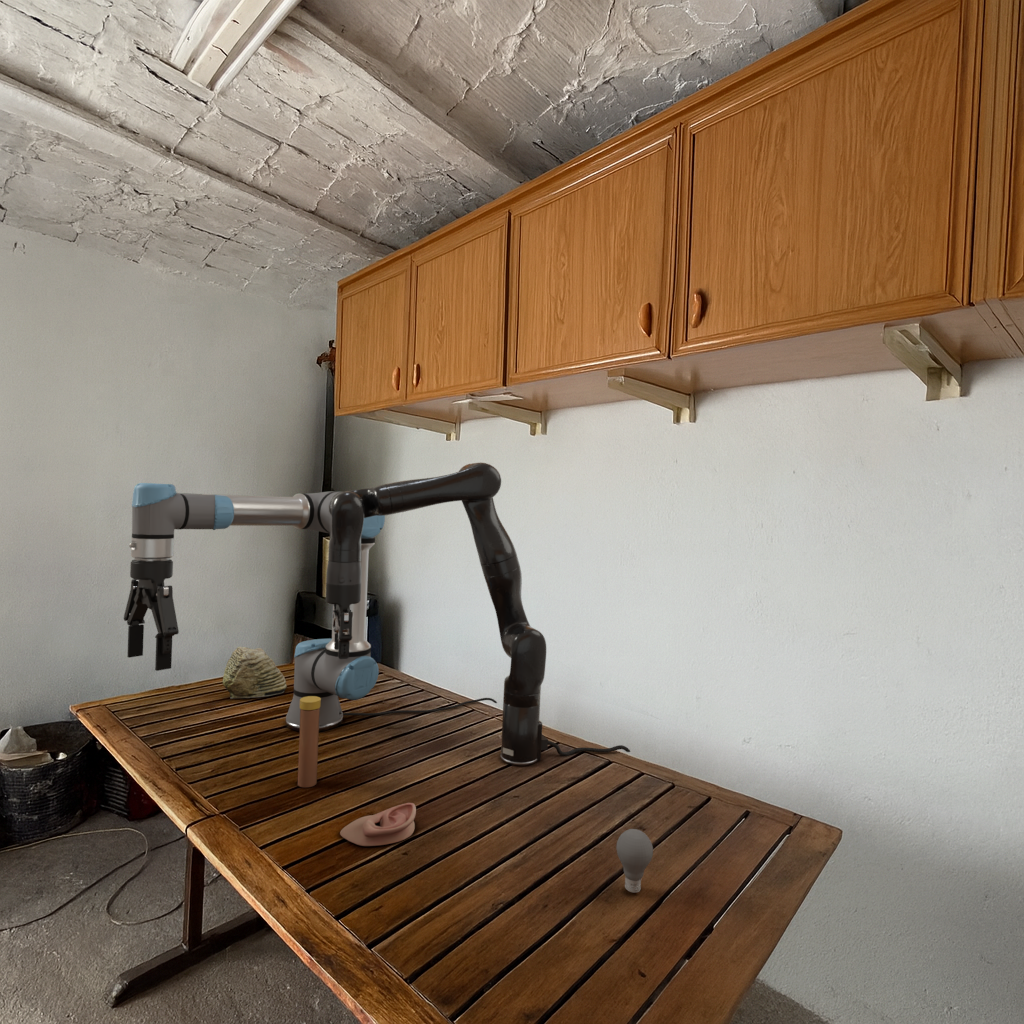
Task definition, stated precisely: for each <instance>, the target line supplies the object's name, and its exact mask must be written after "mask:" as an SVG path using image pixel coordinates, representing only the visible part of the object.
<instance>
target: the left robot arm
mask: <svg viewBox="0 0 1024 1024" xmlns="http://www.w3.org/2000/svg"><path fill="white" fill-rule="evenodd" d="M339 492H340V491H337V490H336V491H335V490H333V491H332V490H330V491H321V492H311V493H295V494H294V495H293V496H276V495H275V496H274V495H273V496H272V495H248V494H247V495H246V494H244V495H243V494H220V493H219V494H218V493H217V494H216V493H215V494H214V493H189V492H187V493H186V492H177V491H176V486H175V485H174V484H173V483H152V482H139V483H137V484H136V485H135V486H134V488H133V492H132V501H131V520H132V521H131V542H130V543H128V547H129V548H130V549H131V550H130V556H131V558H133V559H132V560H131V561H130V567H129V568H130V571H129V574H130V575H129V576H130V578H131V581H130V590H129V594H128V598H127V603H126V607H125V610H124V615H123V621H124V622H126V624H127V626H128V629H127V630H128V631H127V658H135V657H142V656H144V635H145V634H144V630H145V625H144V624H145V623H146V621H145V619H144V618H145V616H146V615H147V612H148V609H149V610H151V613H152V618H153V620H154V624H155V627H156V631H157V633H156V635H155V636H154V638H155V661H154V663H155V665H154V668H155V669H154V670H155V671H157V672H159V671H164V670H169V669H172V659H173V657H172V655H173V637H175V636H176V635H179V632H180V631H179V625H178V619H177V615H176V614H177V613H176V609H175V603H174V597H173V595H174V593H173V585H165V580H167V579H171V578H172V577H173V575H174V573H173V572H174V561H173V560H172V559H171V558H173V557H174V554H175V553H174V552H175V530H213V531H215V530H224V529H228V528H230V526H233V527H234V526H237V527H238V526H240V527H243V526H246V527H247V526H249V527H250V526H258V527H259V526H268V527H269V526H276V527H277V526H282V527H284V526H285V527H286V526H287V527H288V526H289V527H290V526H291V527H293V528H294V529H296V530H308V531H309V530H310V531H316V532H319V533H325V534H329V538H330V537H331V535H332V516H331V514H330V512H329V502H330V500H331V498H332V497H333V496H334V495H335V494H337V493H339ZM385 520H386V515H384V516H371V517H367V518H364V523H363V530H362V535H361V600H360V602H359V603H356V604H351V605H350V610H351V612H353V618H352V640H350V641H349V658H347V659H339V657H338V650H335V648H334V638H335V633H336V632H334V631H333V629H334V628H333V623H332V625H331V626H332V627H331V638H317V639H308V640H304V641H300V642H299V643H297V645H296V646H295V650H294V655H293V657H294V672H293V673H294V674H293V695H292V696H293V697H292V699H291V702H290V704H289V708H288V711H287V713H286V715H285V726H286V728H287V729H289V730H291V731H294V732H295V731H296V732H300V699H301V698H303V697H307V696H317V697H320V698H321V706H320V711H319V732H325V731H329V730H332V729H335V728H337V727H339V726H340V725H342V723H343V722H344V716H345V717H347V716H349V717H350V716H355V717H356V716H361V717H372V716H373V717H375V716H383V715H390V714H391V715H392V714H425V713H435V712H441V711H447V710H451V709H452V710H453V709H455V708H458V707H459V708H460V707H461V706H465V705H468V704H474V703H478V702H483V701H490V702H493V703H494V704H498V702H497V700H495V699H494V698H492V697H482V698H478V699H473V700H467V701H462V702H461V703H460V702H459V703H457V704H454V705H450V706H449V705H448V706H445V707H440V708H433V709H424V710H423V709H421V710H419V709H416V710H414V709H413V710H412V709H402V710H401V709H400V710H399V709H398V710H389V711H381V712H343V709H342V706H341V702H340V699H339V698H341V699H342V700H343V699H344V700H348V701H349V700H350V701H357V700H360V699H362V698H364V697H365V696H367V695H368V694H370V692H371V690H372V689H374V687H375V685H376V683H377V682H378V678H379V674H380V672H379V671H380V670H379V669H380V668H379V665H378V663H377V662H376V660H375V659H374V657H371V652H372V649H371V648H372V644H371V643H370V642H368V640H367V639H366V631H367V607H368V606H367V605H368V604H367V602H368V582H369V581H368V579H369V555H370V553H369V552H370V550H371V548H372V547H374V545H375V544H376V536H378V535H379V534H380V533H381V530H383V528H384V526H385V522H386V521H385ZM333 610H334V604H332V611H333ZM343 633H345V635H347V632H343Z"/></svg>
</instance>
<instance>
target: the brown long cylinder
mask: <svg viewBox="0 0 1024 1024" xmlns="http://www.w3.org/2000/svg"><path fill="white" fill-rule="evenodd" d="M319 711H320V708H318V709H315V710H302V709H300V731H299V732H298V733H299V735H298V736H299V737H298V739H299V740H298V761H297V762H298V763H297V766H298V767H297V786H298V787H300V788H304V789H305V788H311V787H314V786H315V785H317V783H318V762H319V760H318V758H319V736H320V731H319Z"/></svg>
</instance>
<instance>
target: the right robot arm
mask: <svg viewBox="0 0 1024 1024" xmlns="http://www.w3.org/2000/svg"><path fill="white" fill-rule="evenodd" d="M501 488H502V477H501V474H500V472H499V471H498V469H497V468H496V467H495V466H493V465H491V464H490V463H487V462H473V463H468V464H466V465H463V466H462V467H461V468H460V469H459V470H458V471H457V472H453V473H450V474H445V475H440V476H433V477H427V478H416V479H415V478H414V479H408V480H407V479H406V480H401V481H395V482H389V483H383V484H379V485H377V486H373V487H368V488H360V489H359V488H357V489H352V490H344V491H338V492H339V493H337V494H335V495H334V496H333V497H332V498H331V500H330V502H329V512H330V514H331V516H332V535H331V537H330V536H329V542H328V554H327V555H328V558H327V566H326V580H325V602H326V603H327V604H330V605H333V604H334V610H333V609H332V624H333V628H334V629H333V631H334V632H336V633H335V638H334V648H335V650H338V657H339V659H347V658H349V641H350V640H352V618H353V612H351V610H350V605H351V604H356V603H359V602H360V600H361V535H362V530H363V523H364V518H367V517H371V516H384V515H385V516H390V515H391V516H392V515H395V514H400V513H404V512H409V511H414V510H418V509H423V508H426V507H431V506H435V505H439V504H445V503H451V502H460V501H461V503H462V505H463V508H464V511H465V514H466V515H467V518H468V521H469V524H470V527H471V531H472V536H473V541H474V544H475V547H476V553H477V556H478V560H479V565H480V567H481V570H482V574H483V577H484V580H485V583H486V586H487V589H488V592H489V596H490V599H491V602H492V604H493V607H494V610H495V611H494V612H495V615H496V620H497V625H498V631H499V637H500V642H501V646H502V649H503V652H504V653H505V654H506V655H507V656H508V657H509V658H510V667H509V668H510V669H509V674H508V675H507V676H505V678H504V680H503V701H502V703H503V704H502V721H501V722H502V724H501V745H500V760H501V761H502V762H504V763H506V764H507V765H508V764H509V765H512V766H520V767H521V766H530V765H534V764H536V763H537V762H541V761H542V751H547V750H548V749H549V748H548V747H549V746H551V747H553V748H554V749H555V750H556V752H557V754H558V755H560V756H563V757H567V756H571V755H574V754H577V753H581V752H587V753H589V752H590V753H599V754H601V753H602V754H609V753H612V752H615V751H618V750H623V751H625V752H626V753H631V749H629V748H628V747H627V746H625V745H623V744H622V745H621V744H619V745H615V746H612V747H608V748H597V747H584V746H583V747H576V748H573V749H571V750H568V751H562V749H561V748H560V745H559V744H558V743H556V742H554V741H551V740H549V739H548V738H547V736H545V735H544V734H543V722H542V721H541V720H540V713H541V693H542V684H543V682H544V680H545V676H546V675H545V674H546V665H547V664H546V662H547V641H546V638H545V636H544V634H543V633H542V632H541V631H540V630H538V629H536V628H535V627H532V626H531V625H530V622H529V620H528V617H527V614H526V611H525V609H524V605H523V600H522V599H523V598H522V584H523V576H522V569H521V565H520V561H519V557H518V554H517V551H516V548H515V546H514V542H513V541H512V539H511V537H510V535H509V534H508V531H507V530H506V528H505V526H504V525H503V523H502V521H501V520H500V517H499V514H498V513H497V510H496V509H497V508H496V505H495V501H494V500H495V499H494V497H495V496H496V495H497V494H498V493H499V491H500V489H501ZM343 632H347V635H345V633H343Z"/></svg>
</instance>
